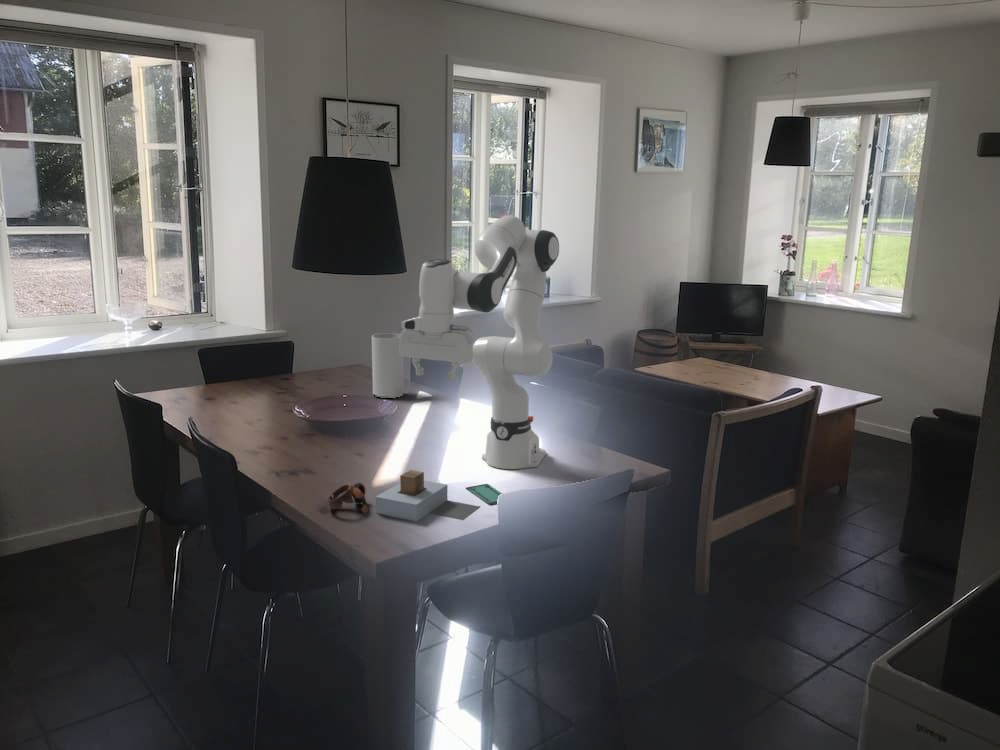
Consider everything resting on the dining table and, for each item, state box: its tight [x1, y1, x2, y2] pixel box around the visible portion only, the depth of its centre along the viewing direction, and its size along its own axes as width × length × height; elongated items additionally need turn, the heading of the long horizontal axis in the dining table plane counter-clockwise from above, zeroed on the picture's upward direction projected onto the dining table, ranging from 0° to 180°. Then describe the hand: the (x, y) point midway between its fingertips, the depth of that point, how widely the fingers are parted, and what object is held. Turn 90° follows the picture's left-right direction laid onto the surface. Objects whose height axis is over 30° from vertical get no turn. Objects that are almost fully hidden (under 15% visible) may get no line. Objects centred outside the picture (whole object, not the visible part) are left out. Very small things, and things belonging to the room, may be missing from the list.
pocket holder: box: [375, 480, 448, 522], centre depth 208 cm, size 16×12×5 cm
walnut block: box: [399, 469, 425, 496], centre depth 208 cm, size 5×4×9 cm
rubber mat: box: [428, 499, 481, 521], centre depth 207 cm, size 10×10×1 cm
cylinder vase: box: [371, 332, 405, 397], centre depth 325 cm, size 12×12×25 cm
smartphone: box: [465, 483, 503, 507], centre depth 218 cm, size 7×1×15 cm
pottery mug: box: [327, 482, 370, 515], centre depth 207 cm, size 12×10×8 cm
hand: (435, 376), depth 206 cm, fingers open, 8 cm apart
